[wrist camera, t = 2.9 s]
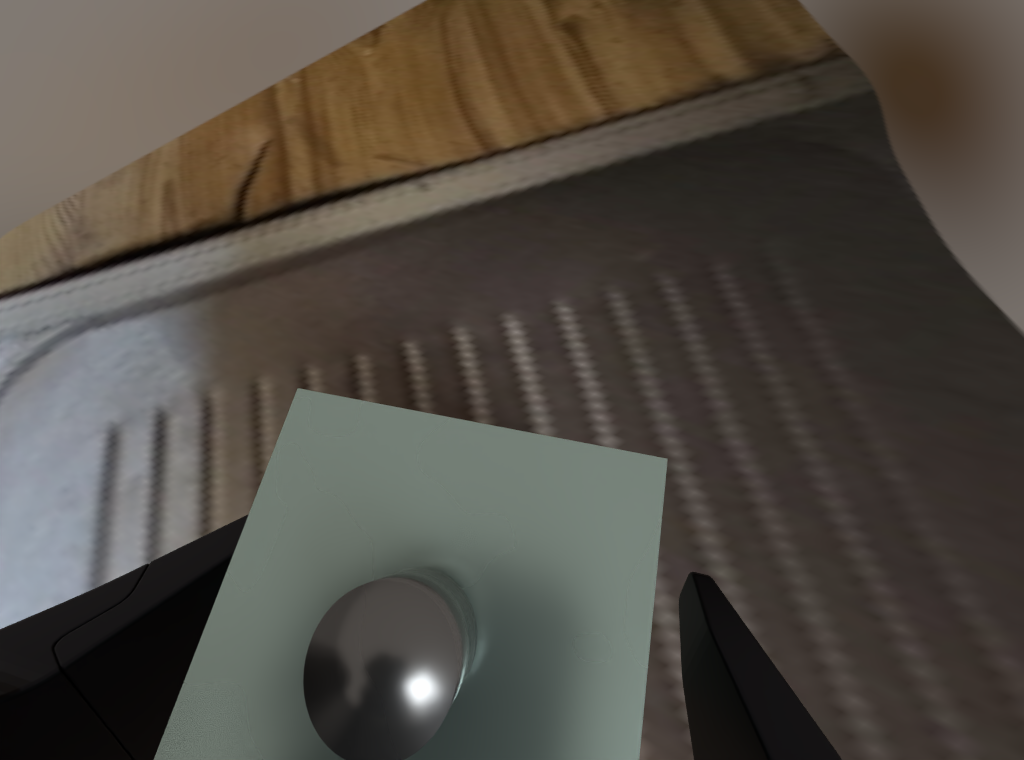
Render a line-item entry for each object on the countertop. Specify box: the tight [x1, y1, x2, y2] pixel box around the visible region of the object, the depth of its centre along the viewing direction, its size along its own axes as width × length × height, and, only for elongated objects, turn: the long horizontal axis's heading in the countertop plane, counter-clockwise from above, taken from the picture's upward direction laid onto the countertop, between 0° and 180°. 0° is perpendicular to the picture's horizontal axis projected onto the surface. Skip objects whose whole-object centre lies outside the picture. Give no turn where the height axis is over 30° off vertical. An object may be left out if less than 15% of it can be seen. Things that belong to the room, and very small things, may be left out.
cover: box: [154, 388, 667, 760], centre depth 10 cm, size 5×5×14 cm
